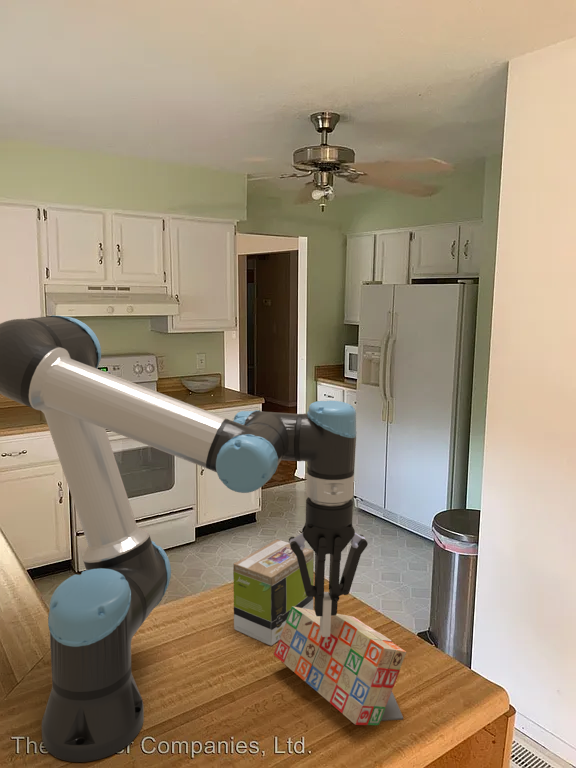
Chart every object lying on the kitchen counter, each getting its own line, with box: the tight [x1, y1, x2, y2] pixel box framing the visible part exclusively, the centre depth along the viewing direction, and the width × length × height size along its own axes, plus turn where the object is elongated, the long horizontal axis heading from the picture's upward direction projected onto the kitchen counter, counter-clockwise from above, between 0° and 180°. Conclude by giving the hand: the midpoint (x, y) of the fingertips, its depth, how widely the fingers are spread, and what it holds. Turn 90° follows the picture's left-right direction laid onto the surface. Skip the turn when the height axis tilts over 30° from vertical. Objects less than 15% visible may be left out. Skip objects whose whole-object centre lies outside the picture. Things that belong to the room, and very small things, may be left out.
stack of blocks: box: [273, 606, 407, 726], centre depth 102 cm, size 21×6×12 cm, turn 38°
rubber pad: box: [380, 691, 404, 722], centre depth 102 cm, size 7×12×1 cm, turn 7°
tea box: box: [232, 538, 315, 646], centre depth 123 cm, size 15×10×15 cm, turn 144°
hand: (324, 631), depth 100 cm, fingers closed
